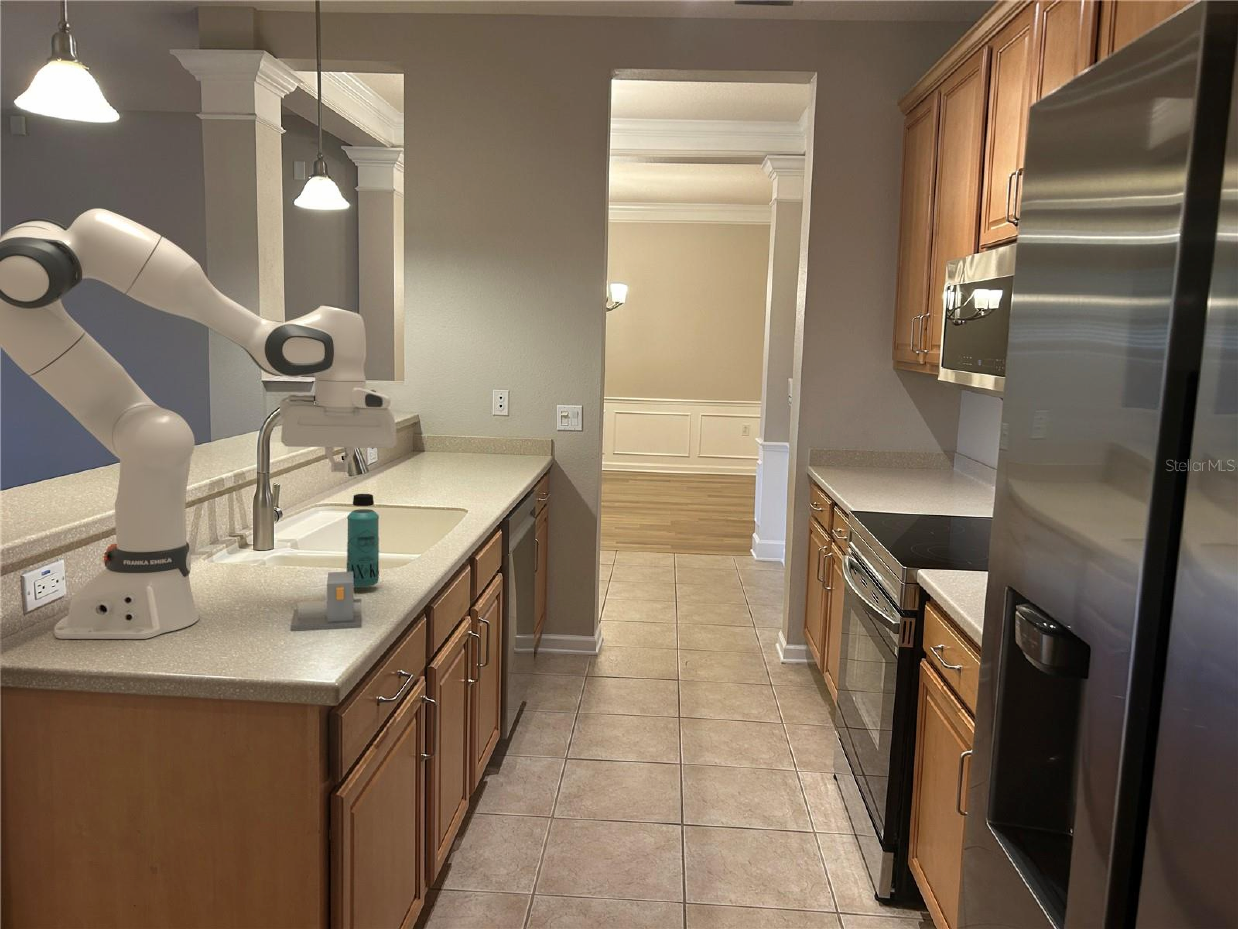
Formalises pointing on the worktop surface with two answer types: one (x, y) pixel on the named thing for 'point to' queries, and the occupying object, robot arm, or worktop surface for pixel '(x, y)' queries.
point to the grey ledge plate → (321, 617)
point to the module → (340, 596)
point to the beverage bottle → (363, 542)
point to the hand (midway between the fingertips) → (339, 471)
